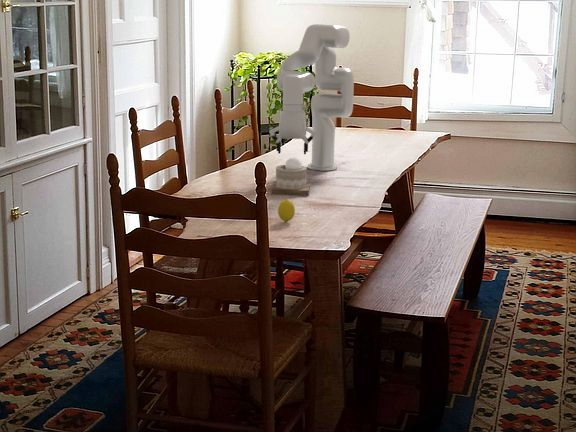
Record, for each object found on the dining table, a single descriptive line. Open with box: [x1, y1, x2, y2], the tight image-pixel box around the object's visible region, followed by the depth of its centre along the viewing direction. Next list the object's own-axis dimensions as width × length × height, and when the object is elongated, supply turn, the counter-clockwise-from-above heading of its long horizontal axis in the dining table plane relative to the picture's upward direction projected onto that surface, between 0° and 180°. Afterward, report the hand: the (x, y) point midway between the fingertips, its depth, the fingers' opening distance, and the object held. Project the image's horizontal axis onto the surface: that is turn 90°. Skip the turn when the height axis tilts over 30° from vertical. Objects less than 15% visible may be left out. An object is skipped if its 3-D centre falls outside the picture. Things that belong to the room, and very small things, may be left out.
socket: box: [270, 164, 311, 197], centre depth 350 cm, size 14×14×9 cm
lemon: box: [277, 198, 296, 223], centre depth 307 cm, size 6×6×8 cm
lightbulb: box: [284, 157, 303, 170], centre depth 350 cm, size 6×6×11 cm
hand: (292, 153), depth 348 cm, fingers open, 9 cm apart
